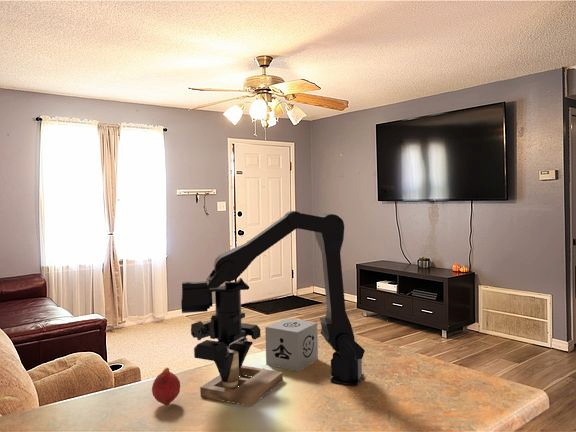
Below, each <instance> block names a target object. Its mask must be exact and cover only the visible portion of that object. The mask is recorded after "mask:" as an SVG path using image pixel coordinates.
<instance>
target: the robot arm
mask: <svg viewBox="0 0 576 432" xmlns="http://www.w3.org/2000/svg"><path fill="white" fill-rule="evenodd" d="M297 229H299V230H304V231H309V232H313V233H314V235H315V239H316V241H317V242H316V243H317V244H318V247H319V249H320V252H321V257H322V258H321V259H322V261H321V262H322V269H323V270H322V271H323V282H324V291H325V292H324V293H325V301H326V303H325V304H326V313H325V316H324V317H320V318H319V323H320V326H321V330H320V335H321V336H322V337H323V338H324V340H325V342H327V344H328V345H329V346H331V348H332V349H333V351H334V352H333V353H332V358H331V359H330V376H331V378H330V379H329V380H330V382H331V383H337V384H343V385H349V386H354V387H355V386H358V385H359V383H360V382H361V381H362V380H363V378H364V377H365V374H364V373H363V372H362V371H363V367H362V360H363V358H364V355H365V352H366V350H365V349H364V348H363V346H361V345H360V344H359V343H357V341H355V340H356V339H355V334H354V330H353V326H352V324H351V321H350V319H349V317H348V313H347V311H346V302H345V291H344V289H345V287H344V279H343V267H342V257H341V251H342V247H343V243H344V238H345V237H344V236H345V222H344V220H343V219H342V218H341V217H340V216H339V215H337V214H334V213H333V214H332V213H321V214H319V215H312V214H307V213H300V211H295V210H289V211H287V212H286V213H285V214H284V215H283V216H282V217H280V218H279V219H277V220H276V221H274V222H273V223H272V224H270V225H269V226H268V227H266V228H265V229H264V230H262V231H261V232H259V233H258V234H256V235H255V236H254V237H251V238H250V239H249V240H248V241H246V242H245V243H244V244H241V245H238V246H236V247H233V248H230V249H229V250H227V251H225V252H222V253H221V254H219V255H218V256H216V258H215V259H214V262H213V269H212V271H211V273H209V275H208V276H207V278H206V281H182V282H181V301H180V302H181V303H180V304H181V305H180V306H181V313H182V314H190V313H204V312H205V313H206V312H208V310H209V309H211V307H212V308H213V293H214V302H215V303H214V306H215V313H214V314H212V315H211V317H210V320H209V321H206V322H202V321H201V320H200V321H197V322H194V323H191V324H190V325H191V326H190V334H191V337H192V338H193V339H195V338H196V339H197V341H201V340H202V339H204V338H207V337H209V339H206V340H204V341H201V342H200V343H197V344H196V345H195V346H194V347H193V355H194V356H193V357H194V358H195V359H199V360H200V359H201V360H205V361H210V362H211V361H213V362H214V364H215V366H216V368H217V371H218V373H219V375H220V376H221V379H222V381H223V382H227V381H228V378H229V374H230V369H231V365H232V361H233V356H234V353H229V350H236V351H238V355H239V371H240V368H241V366H242V365H243V364H244V361H245V358H246V356H247V355H248V353H249V350H250V349H251V346H252V345H253V341H249V340H248V338H247V336H251V339H252V340H257V339H259V338H261V328H260V327H259V325H258V324H252V323H243V322H242V320H243V319H244V318H246V312H242V298H241V296H242V294H241V291H245V290H247V291H248V290H249V289H250V285H248V283H247V282H245V281H244V280H243V278H242V277H240V276H241V275H242V274H243V272H245V271H246V270H247V269H248V268H249V266H250V265H251V264H252V263H253V262H254V260H255V259H256V258H257V257H259V256H260V255H261V254H263V253H264V252H265V251H267V250H269V249H270V248H271V247H273V246H274V245H275V244H277V243H278V242H280V241H281V240H283V239H284V238H286V237H287V236H288V235H290V234H291V233H292V232H294V231H295V230H297ZM236 279H238V280H237V281H235V280H236ZM223 284H224V285H223Z"/></svg>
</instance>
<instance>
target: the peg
mask: <svg viewBox="0 0 576 432" xmlns="http://www.w3.org/2000/svg"><path fill="white" fill-rule="evenodd" d="M229 353H234V356H233V361H232V365H231V369H230V374H229V378H228V381H227V382H223V388H227V389H232V390H234V389H236V388H237V387H238V380H239V355H238V351H236V350H230V349H229ZM221 381H222V379H221Z"/></svg>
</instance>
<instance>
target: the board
mask: <svg viewBox="0 0 576 432" xmlns="http://www.w3.org/2000/svg"><path fill="white" fill-rule="evenodd" d="M240 375H247V376H246V377H245V378H244V377H242V376H240ZM239 376H240V377H239V380H238V386H239V387H237V388H236V389H234V390H232V389H227V388H223V381H221V376H220V374H219V375H218V376H216V377H214V378H213V379H211V380H209V381H208V382H206V383H205V384H202V386H200V397H204V398H209V399H214V400H217V399H218V401H222V400H223V402H227V401H229V402H228V403H232V402H234V403H233V404H237V403H239V404H238V405H241V404H244V405H243V406H246V405H248V406H247V407H252V406H253V405H255V404H256V403H257V402H258V401H260V400H261V399H262V398H264V397H265V396H266V395H267V394H268V393H269V392H271V391H272V390H273V389H274V388H275V387H277V386H278V385H279V384H280V383H282V382H283V381H284V372H283V371H277V370H271V369H266V368H259V367H253V366H247V365H243V364H242V366H241V368H240V371H239ZM248 376H252V377H249V378H247V377H248ZM271 389H272V390H271ZM267 392H268V393H267ZM266 393H267V394H266ZM265 394H266V395H265ZM261 397H262V398H261ZM260 398H261V399H260Z"/></svg>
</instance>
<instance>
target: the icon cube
mask: <svg viewBox="0 0 576 432" xmlns="http://www.w3.org/2000/svg"><path fill="white" fill-rule="evenodd" d="M264 327H265V330H264V331H265V363H266V365H267V364H269V365H268V366H271V365H272V367H276V368H281V369H285V370H290V371H293V372H294V371H295V372H300V371H302V370H303V369H305V368H306V367H308V366H310V365H311V364H313V363H314V362H316V361H318V360H319V351H318V350H319V339H318V335H319V334H318V322H315V321H314V322H313V321H308V320H302V319H301V320H300V319H294V318H290V317H289V318H288V317H287V318H284V319H281V320H279V321H277V322H273V323H271V324H269V325H267V326H264Z"/></svg>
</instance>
